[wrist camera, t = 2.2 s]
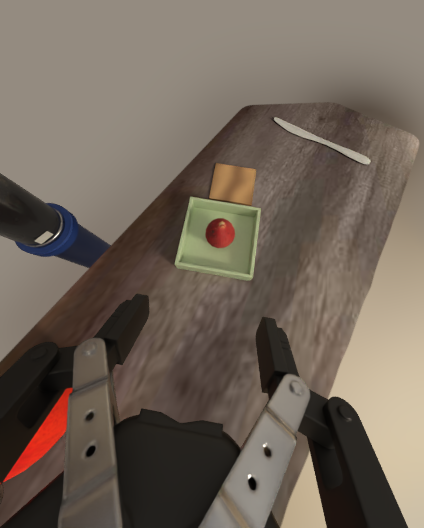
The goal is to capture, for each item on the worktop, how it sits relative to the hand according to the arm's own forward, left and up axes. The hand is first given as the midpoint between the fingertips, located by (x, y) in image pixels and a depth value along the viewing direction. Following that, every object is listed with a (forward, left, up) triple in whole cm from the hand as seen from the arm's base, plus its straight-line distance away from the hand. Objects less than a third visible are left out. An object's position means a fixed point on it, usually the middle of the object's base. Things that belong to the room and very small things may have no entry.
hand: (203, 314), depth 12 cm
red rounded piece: (0, +15, -24) cm, 28 cm away
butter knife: (+21, +47, -24) cm, 57 cm away
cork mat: (+1, +30, -24) cm, 38 cm away
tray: (0, +15, -24) cm, 28 cm away
